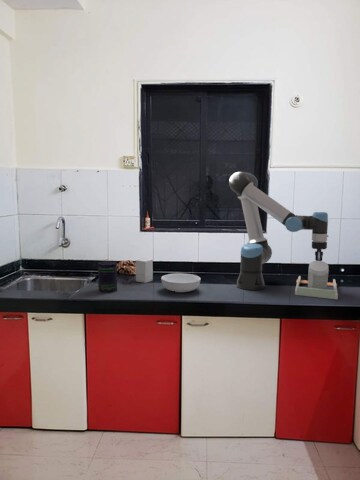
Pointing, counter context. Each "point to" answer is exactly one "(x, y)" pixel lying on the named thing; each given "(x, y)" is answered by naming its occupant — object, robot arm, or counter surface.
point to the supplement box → (144, 270)
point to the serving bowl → (180, 282)
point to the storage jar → (107, 276)
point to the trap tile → (307, 282)
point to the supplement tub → (318, 275)
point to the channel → (316, 291)
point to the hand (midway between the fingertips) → (317, 284)
